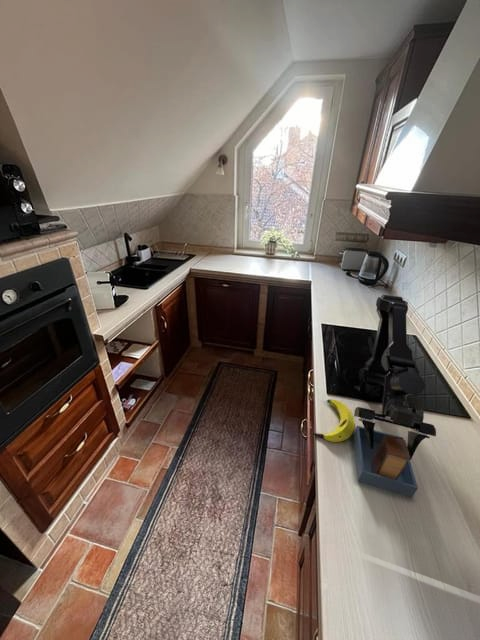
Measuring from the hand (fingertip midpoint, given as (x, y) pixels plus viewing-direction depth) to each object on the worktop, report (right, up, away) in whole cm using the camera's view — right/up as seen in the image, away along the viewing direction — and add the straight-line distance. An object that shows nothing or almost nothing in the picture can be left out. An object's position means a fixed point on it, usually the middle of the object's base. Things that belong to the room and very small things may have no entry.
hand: (389, 454), depth 68 cm
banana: (-9, +1, +19) cm, 21 cm away
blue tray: (0, -6, +6) cm, 9 cm away
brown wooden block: (-1, -7, +3) cm, 8 cm away
